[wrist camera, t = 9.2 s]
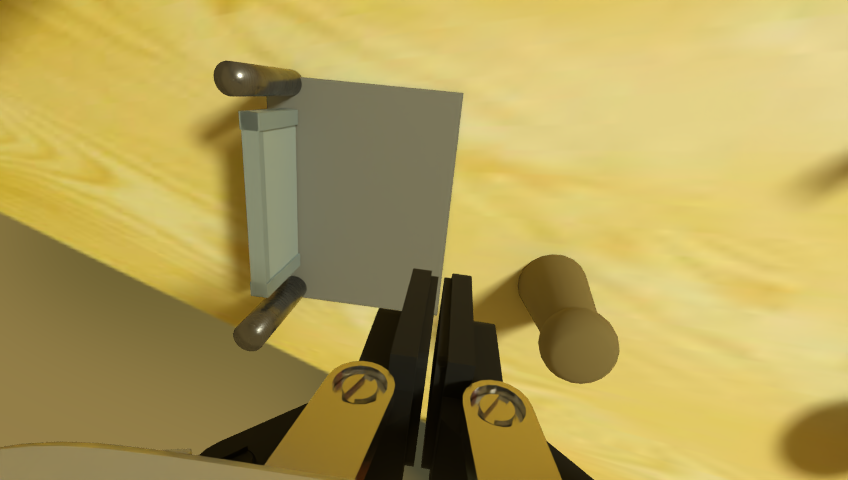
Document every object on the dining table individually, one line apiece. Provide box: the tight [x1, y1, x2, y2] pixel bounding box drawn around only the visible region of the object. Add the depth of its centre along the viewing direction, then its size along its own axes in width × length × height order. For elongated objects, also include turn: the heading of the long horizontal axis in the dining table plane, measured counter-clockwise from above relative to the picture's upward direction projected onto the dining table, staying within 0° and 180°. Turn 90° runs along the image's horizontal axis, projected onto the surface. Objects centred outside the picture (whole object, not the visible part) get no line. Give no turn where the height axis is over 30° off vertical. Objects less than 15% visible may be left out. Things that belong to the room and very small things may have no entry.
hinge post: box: [214, 61, 302, 96], centre depth 28 cm, size 2×2×9 cm
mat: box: [267, 77, 463, 315], centre depth 35 cm, size 20×16×1 cm
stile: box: [233, 245, 307, 351], centre depth 34 cm, size 6×4×9 cm, turn 175°
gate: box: [239, 108, 300, 298], centre depth 32 cm, size 14×1×6 cm, turn 175°
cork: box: [518, 255, 619, 384], centre depth 31 cm, size 6×6×11 cm
